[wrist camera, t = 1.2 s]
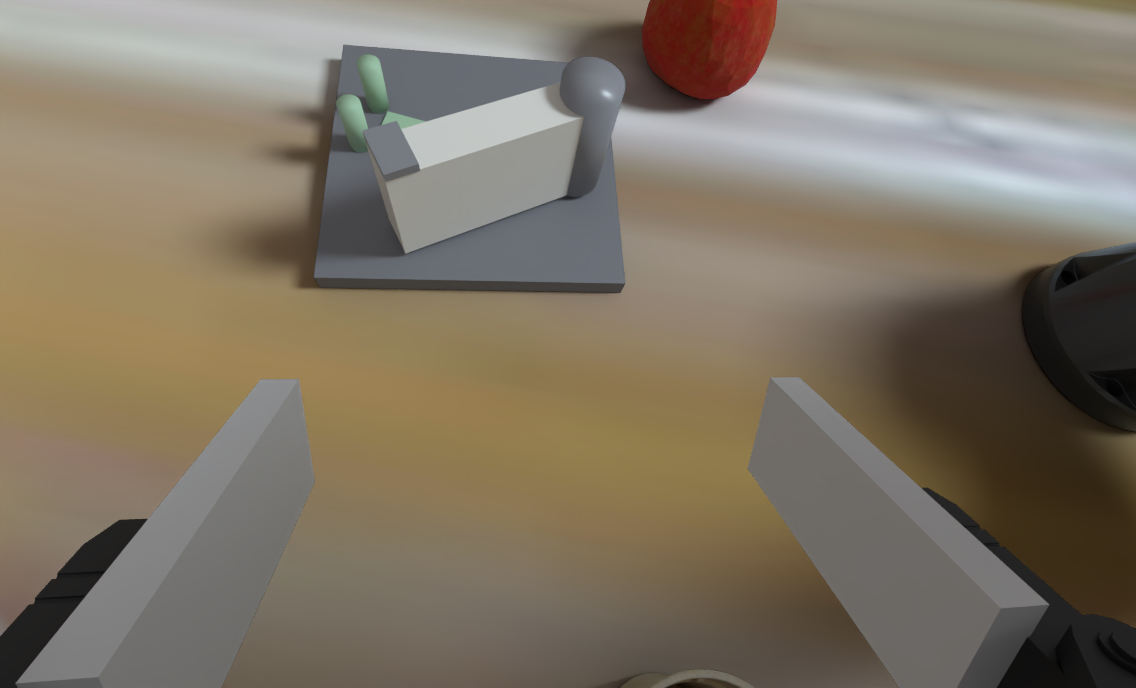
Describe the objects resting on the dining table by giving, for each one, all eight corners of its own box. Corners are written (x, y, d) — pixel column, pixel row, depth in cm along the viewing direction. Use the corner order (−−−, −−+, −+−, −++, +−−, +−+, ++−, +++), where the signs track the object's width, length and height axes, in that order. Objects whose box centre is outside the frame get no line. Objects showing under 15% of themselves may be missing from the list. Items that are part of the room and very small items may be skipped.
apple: (624, 98, 48) (659, -19, 38) (641, 15, 52) (677, -111, 42) (740, 129, 48) (805, 21, 38) (747, 44, 52) (808, -73, 42)
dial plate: (600, 79, 48) (614, 24, 43) (620, 292, 41) (639, 256, 36) (347, 60, 45) (329, -3, 40) (320, 287, 38) (293, 246, 32)
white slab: (582, 147, 43) (606, 50, 34) (607, 186, 42) (637, 96, 33) (386, 213, 38) (357, 120, 30) (408, 259, 37) (385, 175, 29)
